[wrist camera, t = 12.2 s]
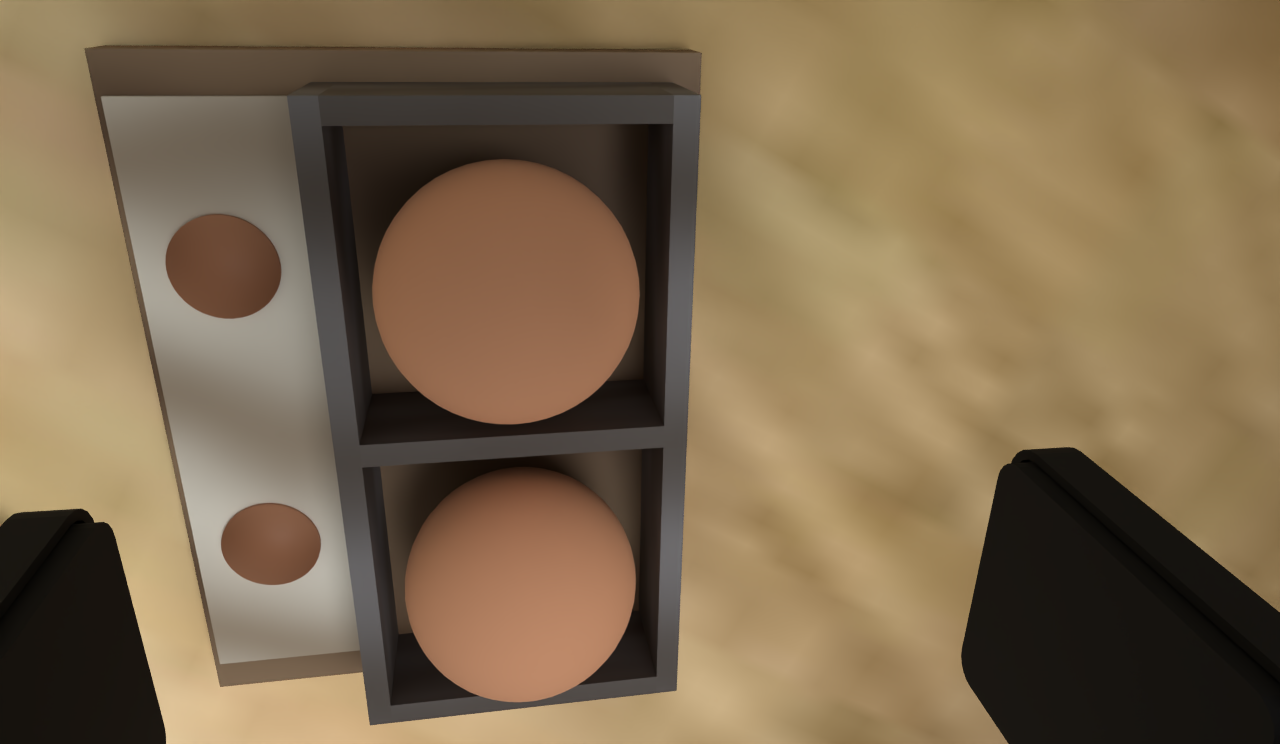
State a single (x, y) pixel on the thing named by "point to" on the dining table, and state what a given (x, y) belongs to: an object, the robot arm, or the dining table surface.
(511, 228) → the terracotta ball
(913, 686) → the dining table surface
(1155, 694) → the robot arm
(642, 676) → the grey divided tray
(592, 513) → the seated terracotta ball
